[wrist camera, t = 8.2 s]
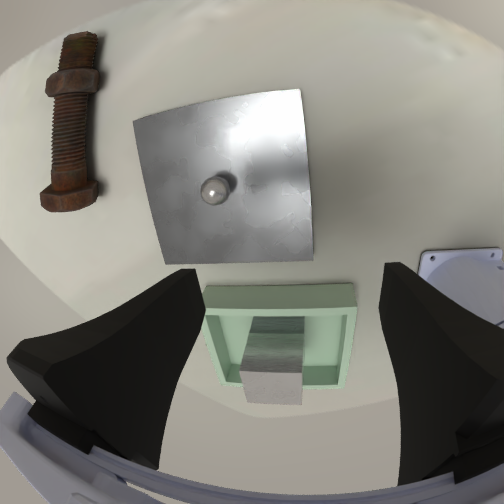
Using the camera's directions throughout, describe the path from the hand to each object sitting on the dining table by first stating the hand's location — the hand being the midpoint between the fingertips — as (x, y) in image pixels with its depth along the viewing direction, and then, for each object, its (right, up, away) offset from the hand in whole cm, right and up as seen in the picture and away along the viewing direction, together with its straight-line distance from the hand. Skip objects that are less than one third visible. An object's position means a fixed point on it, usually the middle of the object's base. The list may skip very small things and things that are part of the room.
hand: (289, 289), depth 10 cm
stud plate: (-3, +6, +9) cm, 12 cm away
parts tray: (+1, -6, +15) cm, 16 cm away
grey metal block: (+1, -6, +14) cm, 15 cm away
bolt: (-16, +13, +9) cm, 22 cm away
